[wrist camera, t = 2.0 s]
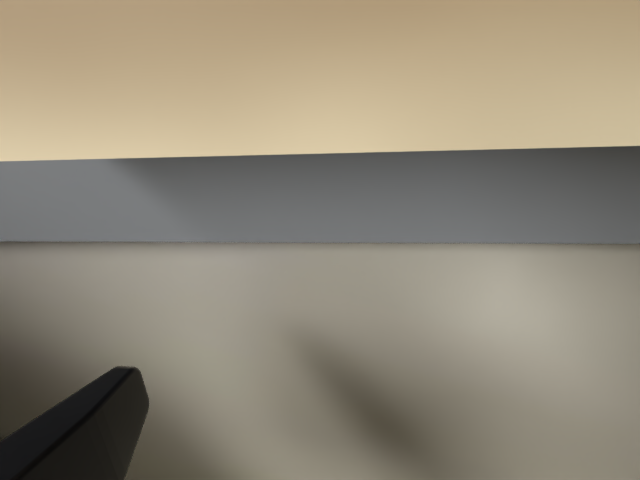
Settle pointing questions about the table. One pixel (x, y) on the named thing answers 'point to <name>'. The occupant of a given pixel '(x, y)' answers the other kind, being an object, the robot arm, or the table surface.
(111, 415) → the robot arm
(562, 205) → the mat
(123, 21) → the t block
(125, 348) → the table surface
